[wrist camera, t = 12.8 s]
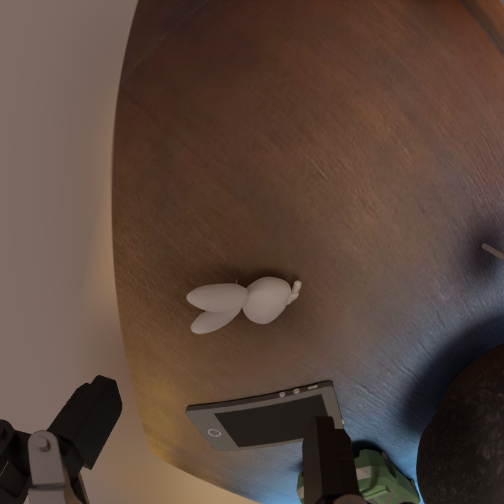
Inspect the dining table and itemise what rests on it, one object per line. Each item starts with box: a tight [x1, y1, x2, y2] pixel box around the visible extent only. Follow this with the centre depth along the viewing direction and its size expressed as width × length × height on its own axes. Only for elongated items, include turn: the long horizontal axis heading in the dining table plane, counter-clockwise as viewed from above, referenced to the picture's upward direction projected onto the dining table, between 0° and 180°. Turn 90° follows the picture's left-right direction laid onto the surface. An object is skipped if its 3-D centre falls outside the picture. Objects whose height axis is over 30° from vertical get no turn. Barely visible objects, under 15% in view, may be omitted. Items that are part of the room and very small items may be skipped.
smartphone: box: [185, 381, 344, 451], centre depth 25 cm, size 15×8×1 cm, turn 110°
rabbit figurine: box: [187, 277, 301, 334], centre depth 19 cm, size 6×4×8 cm
